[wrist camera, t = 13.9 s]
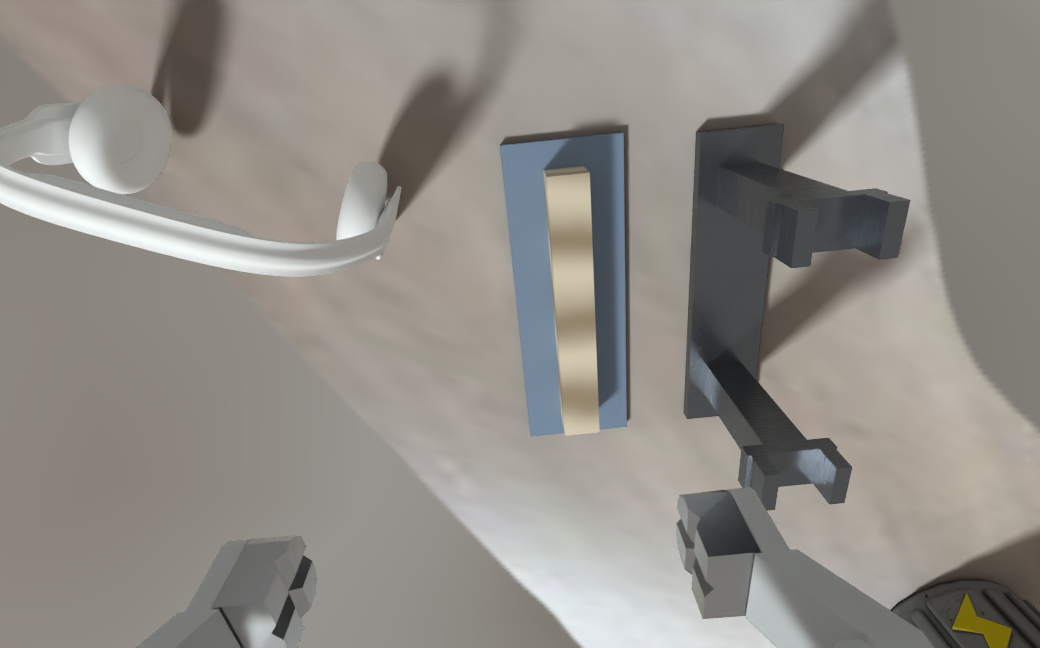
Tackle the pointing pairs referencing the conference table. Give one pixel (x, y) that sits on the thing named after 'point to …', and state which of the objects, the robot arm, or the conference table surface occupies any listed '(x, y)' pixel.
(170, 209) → the headset
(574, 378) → the rail
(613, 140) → the mat
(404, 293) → the conference table surface
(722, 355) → the hook rack
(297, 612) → the robot arm
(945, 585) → the decorative lamp
